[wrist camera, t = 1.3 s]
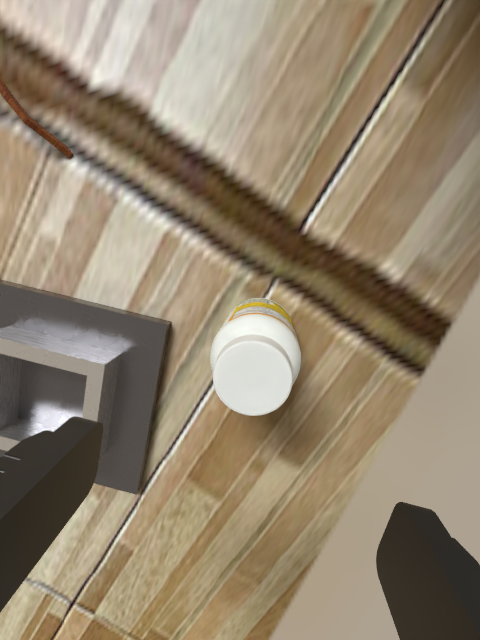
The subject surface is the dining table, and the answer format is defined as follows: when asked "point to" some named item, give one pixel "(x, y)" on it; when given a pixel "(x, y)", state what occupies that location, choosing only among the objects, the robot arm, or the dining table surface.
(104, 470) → the mount
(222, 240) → the dining table surface
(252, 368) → the supplement bottle
